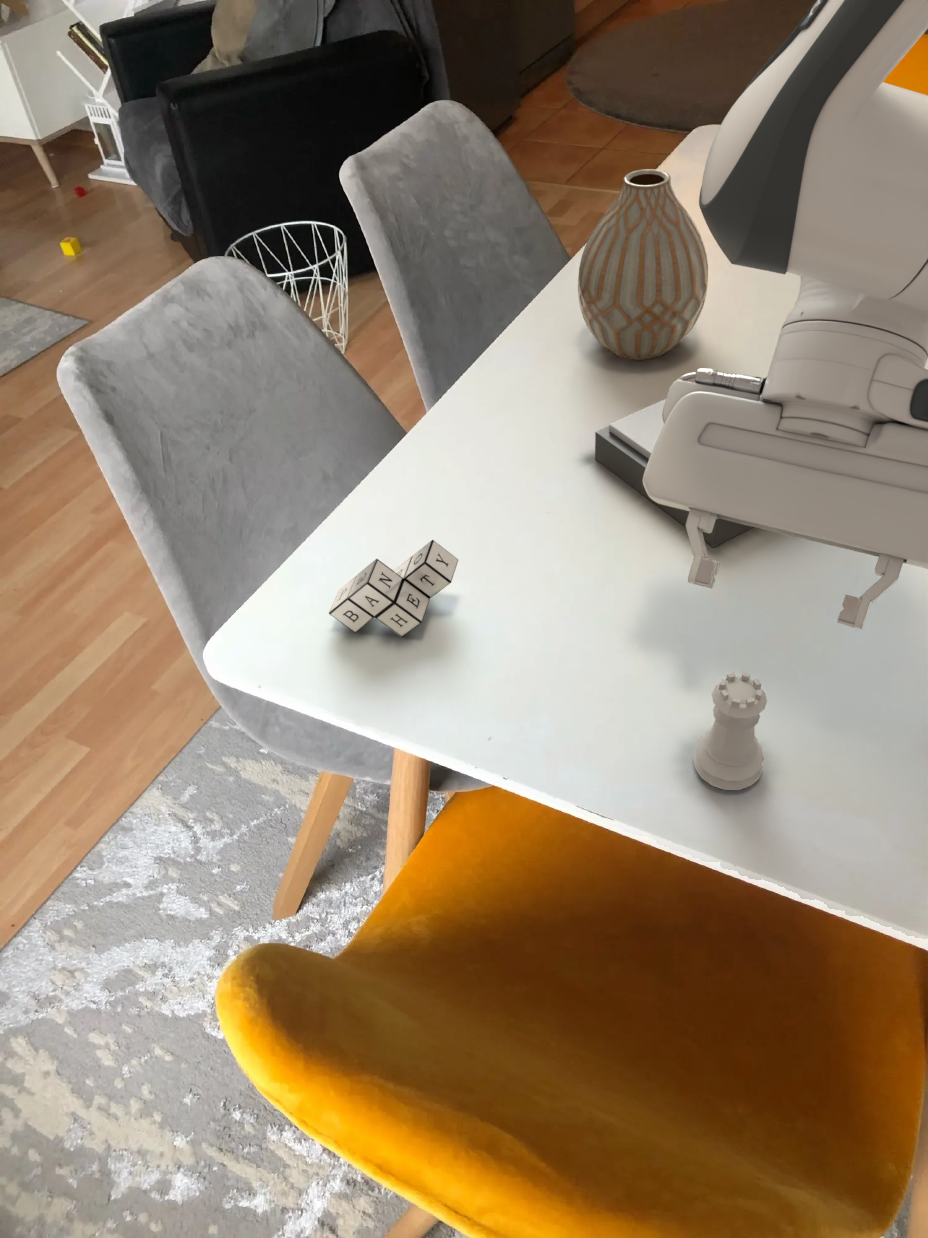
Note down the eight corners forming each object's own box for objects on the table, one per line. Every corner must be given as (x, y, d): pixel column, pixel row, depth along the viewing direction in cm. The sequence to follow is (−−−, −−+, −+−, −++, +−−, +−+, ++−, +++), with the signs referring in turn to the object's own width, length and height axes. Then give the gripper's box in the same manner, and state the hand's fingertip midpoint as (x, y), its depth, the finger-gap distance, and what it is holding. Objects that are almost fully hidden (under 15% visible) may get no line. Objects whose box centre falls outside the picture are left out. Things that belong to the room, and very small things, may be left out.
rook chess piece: (743, 806, 61) (759, 727, 56) (680, 774, 64) (690, 695, 58) (773, 759, 64) (791, 679, 58) (711, 730, 66) (724, 650, 60)
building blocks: (381, 651, 77) (443, 606, 72) (328, 613, 75) (387, 565, 70) (398, 605, 80) (458, 559, 75) (348, 568, 78) (406, 518, 73)
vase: (699, 378, 98) (716, 204, 85) (571, 374, 100) (569, 205, 88) (703, 315, 106) (719, 150, 94) (585, 313, 109) (585, 152, 97)
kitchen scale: (835, 483, 84) (843, 447, 81) (713, 547, 79) (718, 511, 77) (709, 405, 94) (712, 371, 91) (594, 458, 89) (595, 424, 87)
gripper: (667, 348, 61) (605, 558, 62) (1023, 411, 53) (946, 651, 54) (685, 375, 67) (628, 567, 68) (1008, 435, 59) (939, 652, 60)
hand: (772, 605), depth 61 cm, fingers open, 8 cm apart
